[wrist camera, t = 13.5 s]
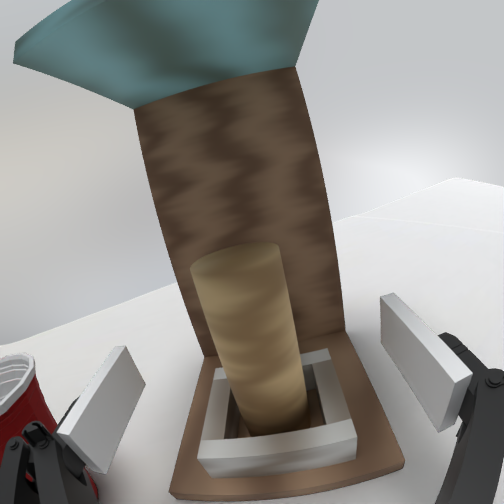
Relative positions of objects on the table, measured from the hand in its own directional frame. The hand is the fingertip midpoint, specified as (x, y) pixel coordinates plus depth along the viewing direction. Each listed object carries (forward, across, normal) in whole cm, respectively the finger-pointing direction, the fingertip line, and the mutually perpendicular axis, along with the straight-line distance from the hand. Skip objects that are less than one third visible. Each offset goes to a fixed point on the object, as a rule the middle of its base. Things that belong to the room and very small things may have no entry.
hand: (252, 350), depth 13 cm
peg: (+2, 0, -9) cm, 9 cm away
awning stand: (+5, 0, -10) cm, 11 cm away
